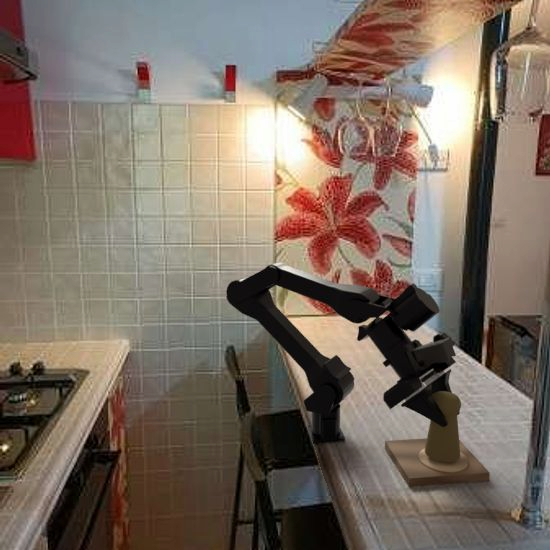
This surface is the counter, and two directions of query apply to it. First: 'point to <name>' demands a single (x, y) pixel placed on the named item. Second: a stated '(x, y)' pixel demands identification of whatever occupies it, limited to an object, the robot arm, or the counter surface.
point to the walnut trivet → (433, 464)
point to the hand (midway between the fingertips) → (452, 420)
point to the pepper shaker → (444, 430)
